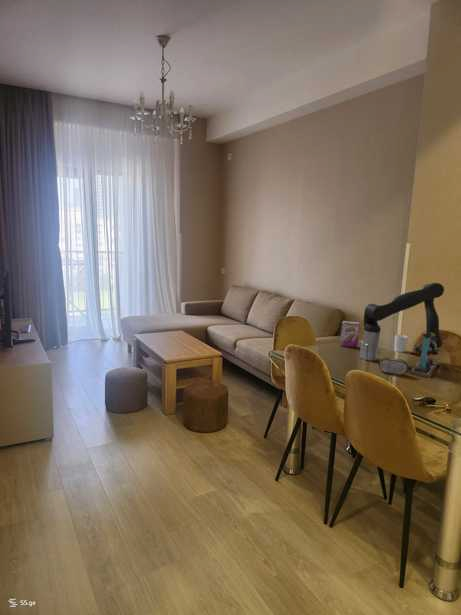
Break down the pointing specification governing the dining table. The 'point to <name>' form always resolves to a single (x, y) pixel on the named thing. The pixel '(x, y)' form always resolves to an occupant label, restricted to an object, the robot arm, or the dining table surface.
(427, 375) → the press base
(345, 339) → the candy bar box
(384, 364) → the tin
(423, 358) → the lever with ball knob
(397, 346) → the white cup
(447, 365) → the dining table surface
